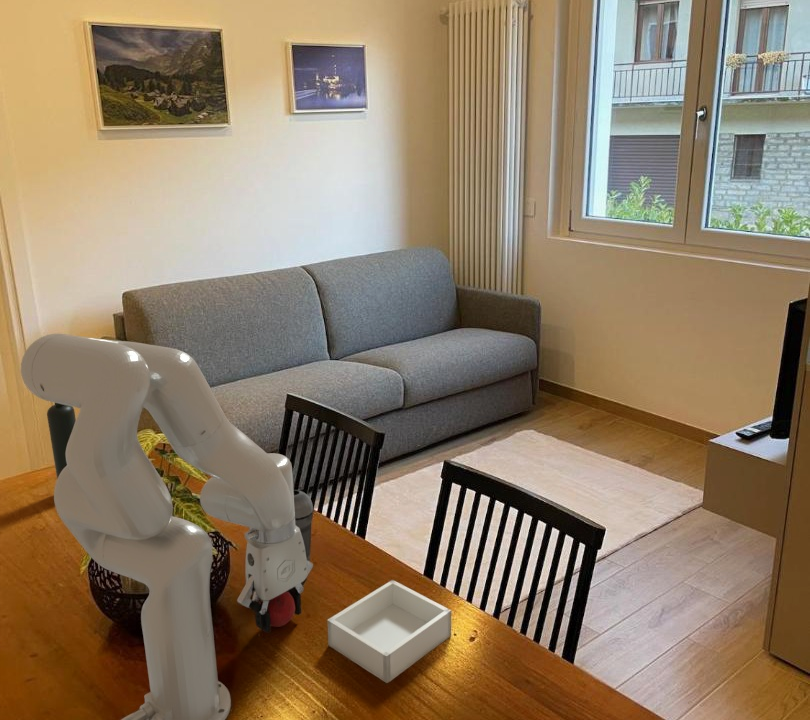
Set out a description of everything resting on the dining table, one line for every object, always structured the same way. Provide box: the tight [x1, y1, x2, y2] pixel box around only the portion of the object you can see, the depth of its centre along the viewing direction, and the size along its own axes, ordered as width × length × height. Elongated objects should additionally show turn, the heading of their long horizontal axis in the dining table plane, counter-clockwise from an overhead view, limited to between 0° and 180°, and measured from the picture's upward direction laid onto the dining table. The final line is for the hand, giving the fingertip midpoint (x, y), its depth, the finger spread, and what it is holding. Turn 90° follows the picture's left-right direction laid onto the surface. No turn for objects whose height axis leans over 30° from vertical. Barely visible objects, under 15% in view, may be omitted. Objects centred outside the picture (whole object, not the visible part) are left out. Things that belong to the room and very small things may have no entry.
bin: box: [326, 579, 452, 684], centre depth 130 cm, size 16×14×5 cm
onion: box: [267, 591, 295, 628], centre depth 134 cm, size 6×6×8 cm
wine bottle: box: [46, 403, 77, 480], centre depth 179 cm, size 6×6×30 cm
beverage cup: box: [293, 489, 315, 562], centre depth 151 cm, size 7×7×20 cm
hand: (279, 619), depth 135 cm, fingers closed on onion, 5 cm apart
